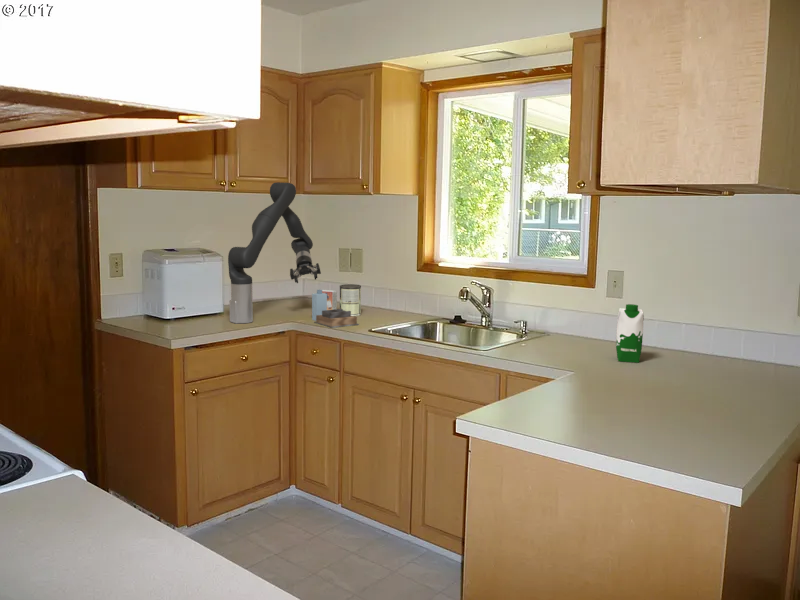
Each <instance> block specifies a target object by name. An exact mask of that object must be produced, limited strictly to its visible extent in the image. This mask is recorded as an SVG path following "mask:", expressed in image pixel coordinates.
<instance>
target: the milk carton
mask: <svg viewBox="0 0 800 600" xmlns="http://www.w3.org/2000/svg"><path fill="white" fill-rule="evenodd" d="M644 318H645V316H644V312H643V309H641V308H639V305H637V304H630V303H628V304H625V308H623V307H622V308H621V307H619V310H618V313H617V321H616V335H615V336H616V337H615V348H616V349H615V350H616V357H617V362H622V363H636V364H639V363H640V359H641V356H642V355H641V353H642V349H643V339H644V338H643V335H644V320H645V319H644Z"/></svg>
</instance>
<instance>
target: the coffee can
mask: <svg viewBox="0 0 800 600" xmlns="http://www.w3.org/2000/svg"><path fill="white" fill-rule="evenodd" d="M361 290H362V285H360V284H353V283H352V284H351V283H349V284H347V283H346V284H340V285H339V309H343V310H344V311H351V316H355V317H358V316H361V315H362V314H361V313H362V312H361V307H362V306H361V305H362V303H361V299H362V294H361V293H362V291H361Z"/></svg>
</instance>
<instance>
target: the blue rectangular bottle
mask: <svg viewBox="0 0 800 600" xmlns="http://www.w3.org/2000/svg"><path fill="white" fill-rule="evenodd" d="M322 290H323V289H316V293H311V320H312V321H314V322H316V315H322V311H323V310H327V294H325V293H322Z"/></svg>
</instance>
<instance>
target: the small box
mask: <svg viewBox="0 0 800 600" xmlns="http://www.w3.org/2000/svg"><path fill="white" fill-rule="evenodd" d="M321 290H322V293H325V294H327V310H334V309H338V308H337V305H338V304H337V302H338V299H337V297H338V295H337V293H338V291H337V290H331V289H329V290H328V289H321Z"/></svg>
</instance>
